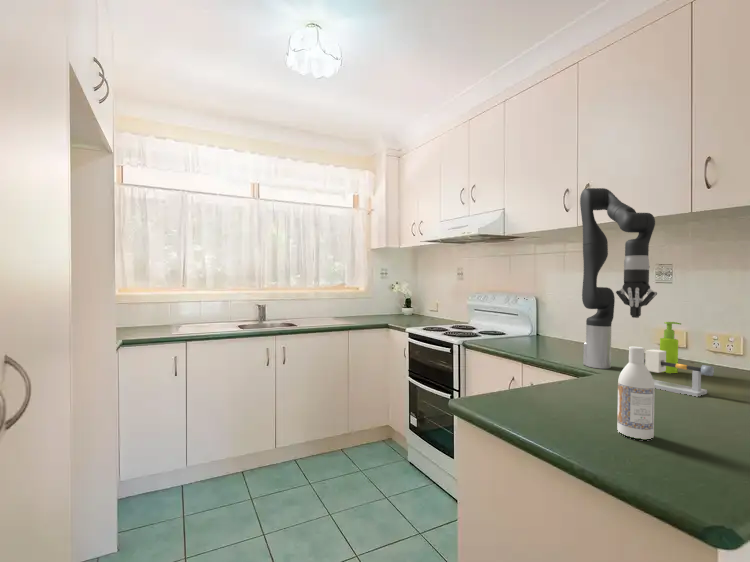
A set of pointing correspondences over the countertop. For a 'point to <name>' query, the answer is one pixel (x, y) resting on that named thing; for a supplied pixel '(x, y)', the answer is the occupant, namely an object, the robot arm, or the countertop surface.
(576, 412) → the countertop surface
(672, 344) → the soap dispenser
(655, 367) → the sleeve
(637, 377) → the bath foam
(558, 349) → the countertop surface
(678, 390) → the rod slider assembly
